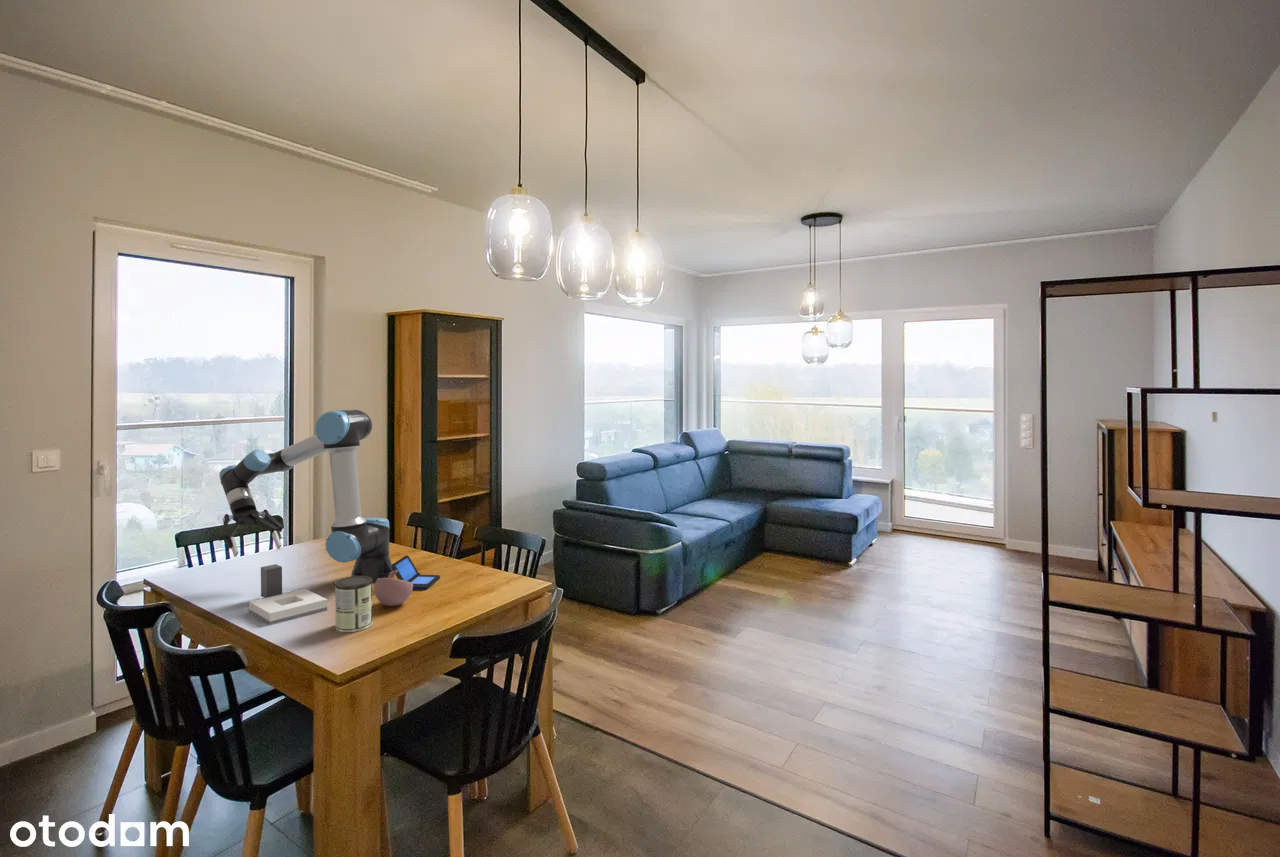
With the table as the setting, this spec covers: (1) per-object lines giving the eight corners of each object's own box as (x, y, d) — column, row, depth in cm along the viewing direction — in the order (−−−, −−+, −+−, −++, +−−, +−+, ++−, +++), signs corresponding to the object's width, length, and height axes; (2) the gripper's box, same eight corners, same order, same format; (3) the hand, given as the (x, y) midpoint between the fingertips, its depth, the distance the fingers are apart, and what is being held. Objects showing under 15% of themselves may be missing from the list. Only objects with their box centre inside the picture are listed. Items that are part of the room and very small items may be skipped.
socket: (305, 598, 206) (305, 588, 206) (327, 609, 197) (327, 599, 196) (249, 612, 193) (249, 601, 193) (270, 624, 183) (270, 613, 183)
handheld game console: (426, 591, 218) (426, 566, 218) (389, 590, 218) (389, 565, 218) (441, 578, 234) (441, 554, 233) (406, 577, 234) (406, 553, 233)
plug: (276, 595, 209) (276, 564, 209) (282, 598, 206) (282, 566, 206) (261, 598, 206) (260, 567, 205) (266, 602, 203) (266, 569, 202)
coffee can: (344, 619, 189) (344, 575, 188) (377, 620, 189) (377, 575, 188) (328, 632, 178) (328, 585, 178) (363, 632, 179) (363, 586, 178)
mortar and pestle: (419, 600, 208) (419, 567, 207) (401, 612, 196) (402, 577, 195) (386, 598, 209) (386, 565, 208) (367, 610, 197) (366, 575, 197)
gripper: (275, 505, 232) (293, 550, 223) (198, 514, 212) (214, 564, 204) (281, 492, 228) (299, 538, 220) (203, 501, 208) (219, 551, 200)
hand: (258, 550), depth 212 cm, fingers open, 13 cm apart
